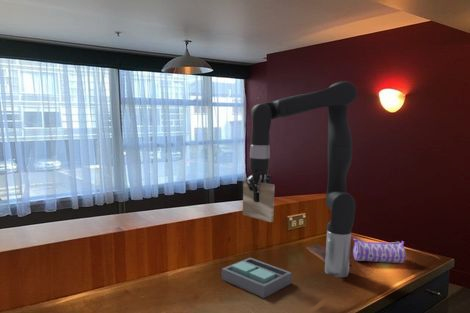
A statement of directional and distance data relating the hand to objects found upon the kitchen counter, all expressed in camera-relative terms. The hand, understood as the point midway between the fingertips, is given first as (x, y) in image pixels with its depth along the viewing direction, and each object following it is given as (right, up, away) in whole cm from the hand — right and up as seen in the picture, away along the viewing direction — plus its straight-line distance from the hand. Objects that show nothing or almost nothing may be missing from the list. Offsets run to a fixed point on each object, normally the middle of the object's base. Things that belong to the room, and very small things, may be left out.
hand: (258, 201), depth 144 cm
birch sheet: (0, -7, +1) cm, 7 cm away
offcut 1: (-6, -28, -5) cm, 29 cm away
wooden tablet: (+32, -28, +25) cm, 49 cm away
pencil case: (+54, -29, +20) cm, 64 cm away
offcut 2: (+1, -29, -11) cm, 31 cm away
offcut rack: (-1, -30, -6) cm, 30 cm away
